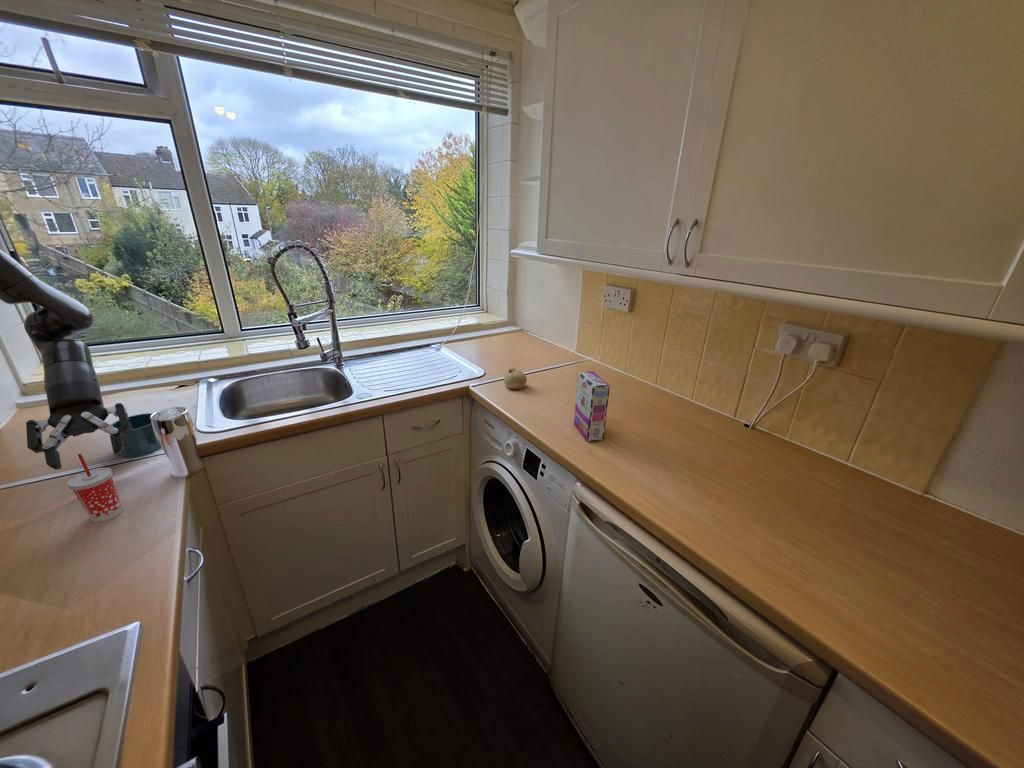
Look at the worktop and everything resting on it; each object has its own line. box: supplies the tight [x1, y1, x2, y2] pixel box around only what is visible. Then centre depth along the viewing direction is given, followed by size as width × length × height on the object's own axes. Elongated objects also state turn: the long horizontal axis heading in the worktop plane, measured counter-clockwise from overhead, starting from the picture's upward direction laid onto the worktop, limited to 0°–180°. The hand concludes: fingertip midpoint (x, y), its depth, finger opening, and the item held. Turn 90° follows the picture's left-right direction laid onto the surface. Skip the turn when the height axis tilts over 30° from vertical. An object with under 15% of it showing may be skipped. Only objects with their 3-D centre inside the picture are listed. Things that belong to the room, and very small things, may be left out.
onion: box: [503, 367, 528, 390], centre depth 142 cm, size 8×8×7 cm
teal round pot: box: [110, 412, 162, 458], centre depth 101 cm, size 10×10×8 cm
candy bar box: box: [573, 371, 611, 443], centre depth 111 cm, size 11×5×16 cm, turn 12°
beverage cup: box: [67, 453, 124, 523], centre depth 78 cm, size 6×6×14 cm
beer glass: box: [150, 406, 205, 478], centre depth 92 cm, size 7×7×15 cm
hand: (87, 460), depth 79 cm, fingers open, 8 cm apart
